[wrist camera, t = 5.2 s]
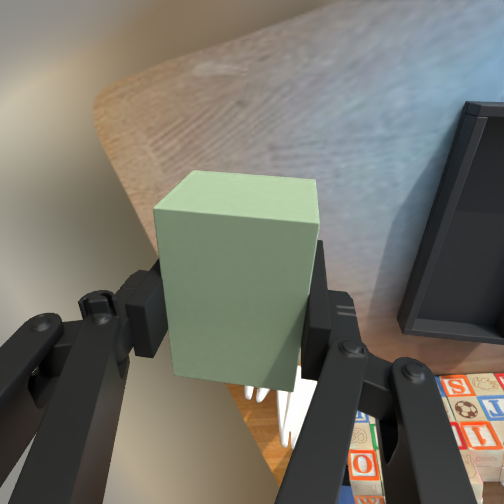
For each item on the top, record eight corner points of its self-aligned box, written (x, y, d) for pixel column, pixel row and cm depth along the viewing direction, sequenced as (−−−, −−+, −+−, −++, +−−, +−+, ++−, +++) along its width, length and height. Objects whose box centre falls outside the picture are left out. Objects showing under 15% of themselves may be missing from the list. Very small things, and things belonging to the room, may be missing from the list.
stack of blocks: (523, 368, 38) (606, 485, 28) (517, 402, 41) (591, 520, 31) (337, 380, 44) (348, 482, 33) (344, 410, 46) (355, 512, 36)
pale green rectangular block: (192, 169, 16) (152, 207, 12) (315, 179, 15) (320, 222, 11) (200, 311, 21) (173, 375, 16) (295, 322, 20) (293, 393, 16)
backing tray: (465, 101, 26) (481, 104, 23) (614, 105, 25) (645, 109, 22) (396, 318, 37) (402, 334, 35) (495, 328, 36) (508, 345, 34)
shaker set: (322, 376, 44) (328, 463, 34) (296, 385, 45) (294, 471, 36) (271, 317, 40) (260, 397, 30) (244, 329, 41) (226, 409, 32)
